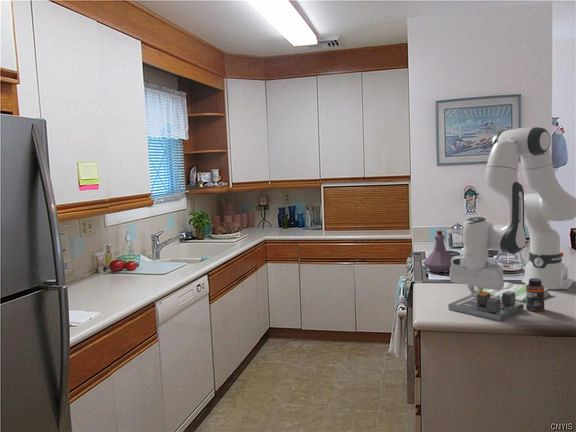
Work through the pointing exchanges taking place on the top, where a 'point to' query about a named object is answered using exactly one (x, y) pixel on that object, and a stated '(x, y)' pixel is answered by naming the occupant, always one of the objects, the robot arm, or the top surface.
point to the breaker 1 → (493, 305)
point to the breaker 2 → (508, 298)
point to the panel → (484, 308)
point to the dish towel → (519, 291)
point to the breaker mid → (483, 297)
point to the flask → (439, 256)
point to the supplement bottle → (535, 295)
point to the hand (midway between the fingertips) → (476, 297)
